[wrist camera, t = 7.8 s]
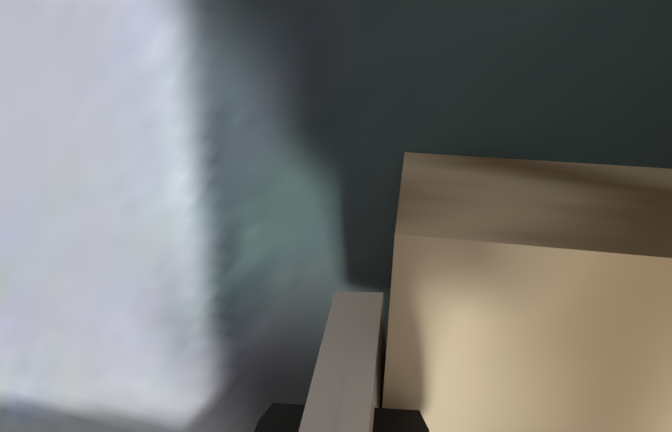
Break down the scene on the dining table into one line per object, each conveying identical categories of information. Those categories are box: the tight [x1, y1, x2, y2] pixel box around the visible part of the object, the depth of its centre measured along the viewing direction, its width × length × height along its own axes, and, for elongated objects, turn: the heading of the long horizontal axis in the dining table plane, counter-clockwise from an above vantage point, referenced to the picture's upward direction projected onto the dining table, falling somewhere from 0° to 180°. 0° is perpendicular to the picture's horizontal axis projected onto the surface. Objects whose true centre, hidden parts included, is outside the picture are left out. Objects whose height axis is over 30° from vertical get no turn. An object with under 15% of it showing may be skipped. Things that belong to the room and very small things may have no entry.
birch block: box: [382, 152, 672, 432], centre depth 13 cm, size 9×12×4 cm
